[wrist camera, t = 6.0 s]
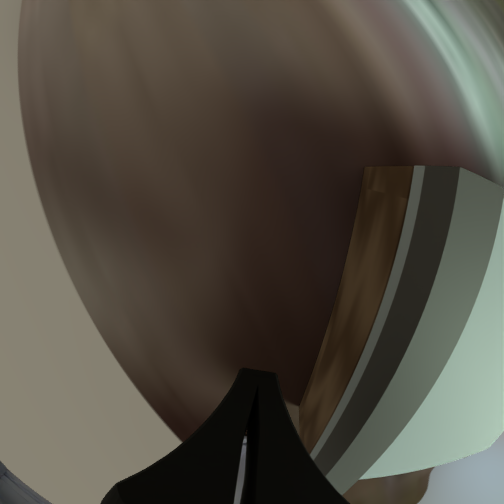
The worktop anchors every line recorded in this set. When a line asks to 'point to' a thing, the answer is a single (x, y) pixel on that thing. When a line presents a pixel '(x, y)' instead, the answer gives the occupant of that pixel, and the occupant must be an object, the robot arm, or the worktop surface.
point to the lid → (429, 340)
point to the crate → (357, 294)
